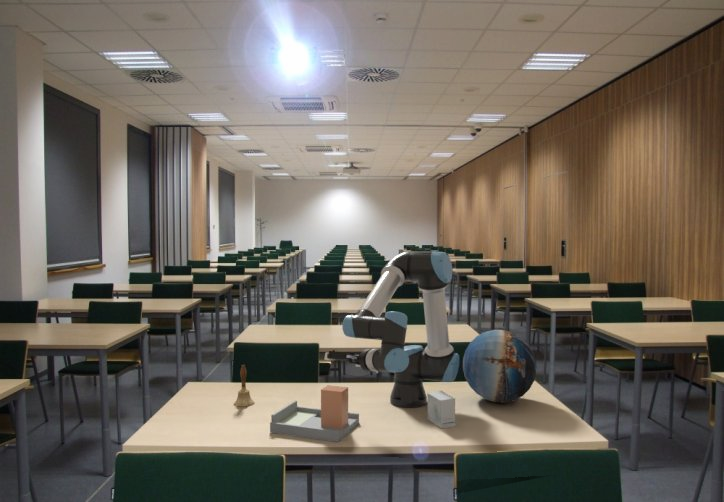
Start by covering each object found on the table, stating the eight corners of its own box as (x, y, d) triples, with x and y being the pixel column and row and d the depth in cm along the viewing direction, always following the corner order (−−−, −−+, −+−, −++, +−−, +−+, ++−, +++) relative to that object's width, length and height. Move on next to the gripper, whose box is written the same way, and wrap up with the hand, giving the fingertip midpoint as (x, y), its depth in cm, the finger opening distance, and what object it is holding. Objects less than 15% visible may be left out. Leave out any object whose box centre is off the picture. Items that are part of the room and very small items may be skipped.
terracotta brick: (348, 423, 198) (348, 387, 198) (341, 428, 193) (341, 391, 192) (327, 420, 201) (327, 385, 201) (321, 426, 195) (320, 389, 195)
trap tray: (359, 422, 204) (359, 406, 204) (338, 442, 186) (338, 424, 185) (296, 414, 213) (295, 399, 213) (270, 432, 195) (270, 415, 194)
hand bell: (229, 405, 225) (229, 366, 225) (241, 399, 233) (241, 362, 232) (246, 407, 222) (246, 368, 222) (258, 401, 230) (257, 363, 229)
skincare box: (426, 419, 208) (426, 392, 208) (441, 417, 210) (441, 390, 210) (440, 428, 198) (440, 399, 198) (455, 426, 201) (455, 397, 200)
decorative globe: (529, 366, 249) (463, 354, 254) (542, 321, 229) (469, 309, 235) (529, 423, 226) (455, 409, 232) (543, 378, 207) (462, 364, 213)
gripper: (340, 364, 179) (310, 363, 197) (401, 377, 192) (367, 375, 209) (344, 341, 181) (314, 342, 199) (404, 355, 194) (370, 355, 211)
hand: (341, 359), depth 204 cm, fingers open, 13 cm apart
